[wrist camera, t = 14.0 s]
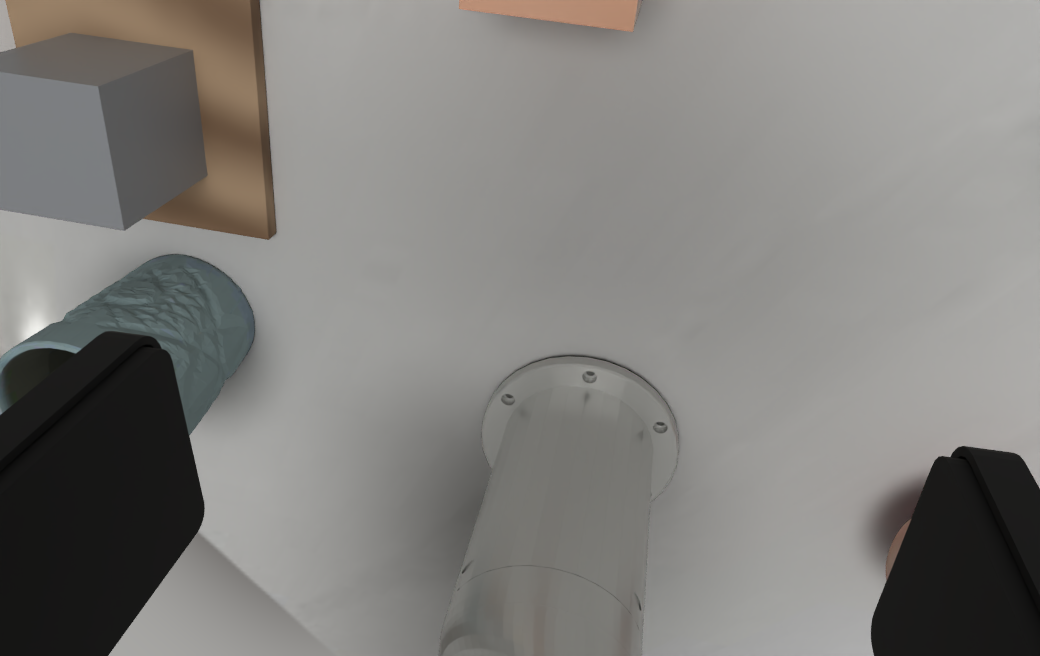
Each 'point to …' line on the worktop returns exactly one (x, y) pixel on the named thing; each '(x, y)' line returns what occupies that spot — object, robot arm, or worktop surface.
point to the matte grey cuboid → (97, 129)
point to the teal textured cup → (149, 330)
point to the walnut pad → (221, 91)
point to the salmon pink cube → (565, 11)
